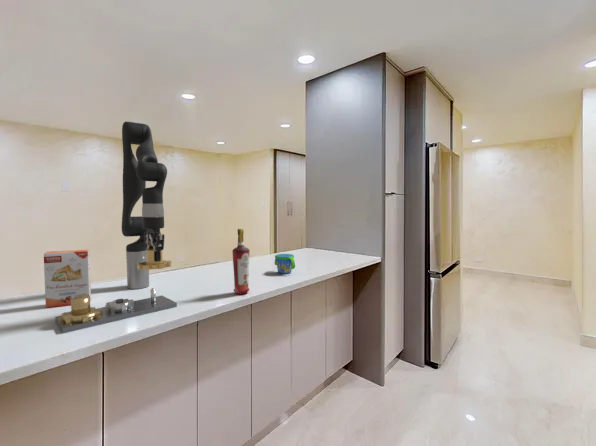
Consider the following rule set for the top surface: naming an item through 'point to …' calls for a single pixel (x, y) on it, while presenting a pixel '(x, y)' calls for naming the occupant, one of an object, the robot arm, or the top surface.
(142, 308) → the carrier plate
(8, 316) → the top surface
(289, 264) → the snack cup
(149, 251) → the gear
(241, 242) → the liquor
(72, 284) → the cracker box
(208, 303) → the top surface
